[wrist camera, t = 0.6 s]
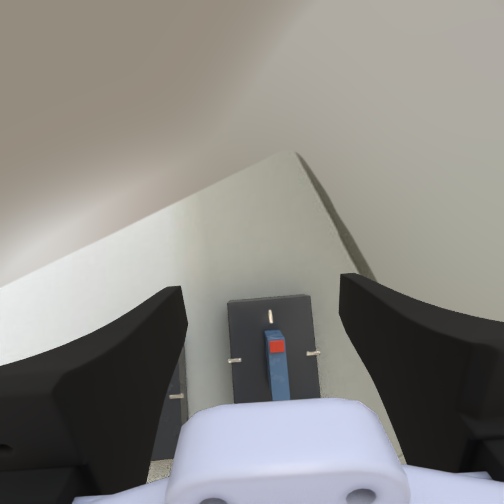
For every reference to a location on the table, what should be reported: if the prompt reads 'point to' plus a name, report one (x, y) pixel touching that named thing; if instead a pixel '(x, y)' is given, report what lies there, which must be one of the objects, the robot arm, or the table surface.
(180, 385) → the hot tap panel
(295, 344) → the panel
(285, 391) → the cold tap
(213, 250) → the table surface
